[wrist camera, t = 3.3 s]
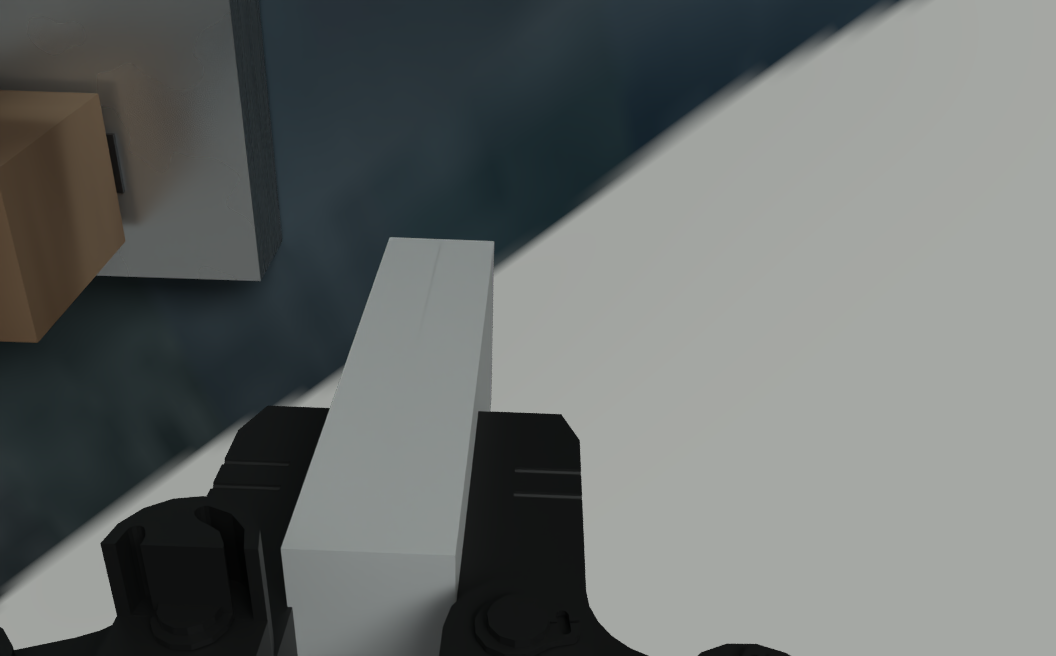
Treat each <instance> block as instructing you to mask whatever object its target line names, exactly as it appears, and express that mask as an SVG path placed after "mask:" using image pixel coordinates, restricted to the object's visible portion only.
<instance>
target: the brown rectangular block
mask: <svg viewBox="0 0 1056 656" xmlns="http://www.w3.org/2000/svg"><path fill="white" fill-rule="evenodd" d="M124 243H125V235H124V230H123V224H122V219H121V213H120V208H119V203H118V197H117V192H116V186H115V181H114V175H113V170H112V164H111V159H110V154H109V148H108V143H107V137H106V132H105V126H104V121H103V116H102V110H101V105H100V99H99V94H98V93H72V92H43V91H14V90H0V341H3V342H33V343H38V342H39V341H40V340H41V338H42V337H43V336H44V335H45V334H46V333H47V332H48V330H49V329H50V328H51V327H52V326H53V325H54V323H55V322H56V321H57V320H58V319H59V318H60V316H61V315H62V314H63V313H64V312H65V311H66V310H67V308H68V307H69V306H70V305H71V304H72V303H73V301H74V300H75V299H76V298H77V297H78V296H79V295H80V293H81V292H82V291H83V290H84V289H85V288H86V286H87V285H88V284H89V283H90V282H91V281H92V280H93V278H94V277H95V276H96V275H97V274H98V273H99V271H100V270H101V269H102V268H103V267H104V266H105V265H106V263H107V262H108V261H109V260H110V259H111V258H112V256H113V255H114V254H115V253H116V252H117V251H118V250H119V248H120V247H121V246H122V245H123V244H124Z"/></svg>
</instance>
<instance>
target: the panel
mask: <svg viewBox="0 0 1056 656" xmlns="http://www.w3.org/2000/svg"><path fill="white" fill-rule="evenodd" d="M0 90H14V91H43V92H72V93H98V94H99V99H100V105H101V110H102V116H103V121H104V126H105V132H106V137H107V143H108V148H109V154H110V159H111V164H112V170H113V175H114V181H115V186H116V192H117V197H118V203H119V208H120V213H121V219H122V224H123V230H124V235H125V243H124V244H123V245H122V246H121V247H120V248H119V250H118V251H117V252H116V253H115V254H114V255H113V256H112V258H111V259H110V260H109V261H108V262H107V263H106V265H105V266H104V267H103V268H102V269H101V270H100V271H99V273H98V274H97V275H96V276H125V277H155V278H185V279H215V280H245V281H261V280H262V278H263V276H264V274H265V272H266V270H267V268H268V267H269V265H270V263H271V261H272V259H273V257H274V255H275V254H276V252H277V250H278V248H279V246H280V244H281V242H282V234H281V223H280V213H279V203H278V193H277V183H276V173H275V162H274V152H273V142H272V132H271V122H270V111H269V101H268V91H267V81H266V71H265V61H264V50H263V40H262V30H261V20H260V10H259V0H0Z"/></svg>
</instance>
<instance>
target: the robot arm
mask: <svg viewBox="0 0 1056 656" xmlns="http://www.w3.org/2000/svg"><path fill="white" fill-rule="evenodd" d="M493 271H494V241H472V240H446V239H420V238H395V237H390V238H389V241H388V244H387V247H386V250H385V252H384V255H383V258H382V261H381V264H380V267H379V270H378V272H377V275H376V278H375V281H374V284H373V287H372V290H371V292H370V295H369V298H368V301H367V304H366V307H365V309H364V312H363V315H362V318H361V321H360V324H359V327H358V329H357V332H356V335H355V338H354V341H353V344H352V347H351V349H350V352H349V355H348V358H347V361H346V364H345V367H344V369H343V372H342V375H341V378H340V381H339V384H338V387H337V389H336V392H335V395H334V398H333V401H332V404H331V407H330V408H310V407H285V406H267V407H266V408H264V409H263V410H262V411H261V412H260V413H258V414H257V415H256V416H255V417H254V418H252V419H251V420H250V421H249V422H248V423H246V424H245V425H244V426H243V427H242V428H240V429H239V430H238V432H237V434H236V436H235V438H234V440H233V442H232V445H231V447H230V449H229V451H228V453H227V455H226V457H225V463H224V465H222V466H221V468H220V470H219V472H218V474H217V476H216V478H215V480H214V483H213V484H214V485H213V489H210V491H209V493H208V495H207V497H204V496H201V497H189V498H178V499H171V500H168V501H165V502H162V503H158V504H156V505H152V506H149V507H146V508H143V509H141V510H140V511H138V512H137V513H135V514H133V515H132V516H130V517H128V518H127V519H125V520H123V521H122V522H120V523H118V524H117V525H116V527H115V528H114V529H113V530H112V531H111V532H110V533H109V534H108V536H107V537H106V538H105V539H104V540H103V541H102V542H101V548H102V552H103V556H104V561H105V565H106V569H107V574H108V578H109V582H110V586H111V591H112V595H113V599H114V604H115V608H116V613H117V617H116V619H115V621H114V623H113V625H111V626H109V627H107V628H105V629H103V630H100V631H97V632H94V633H90V634H87V635H83V636H80V637H77V638H72V639H67V640H62V641H57V642H52V643H47V644H42V645H38V646H33V647H28V648H23V649H19V650H13V646H12V644H11V642H10V641H9V639H8V637H7V635H6V634H5V632H4V630H3V629H2V628H1V627H0V656H648V655H645V654H643V653H640V652H638V651H635V650H633V649H631V648H629V647H627V646H626V645H624V644H623V643H621V642H620V641H618V640H617V639H615V638H614V637H612V636H611V635H610V634H609V633H608V632H607V631H606V630H605V629H604V627H603V626H602V625H601V624H600V623H599V622H598V621H597V619H596V617H595V616H594V614H593V612H592V610H591V608H590V607H589V603H588V598H587V594H586V580H585V559H584V533H583V511H582V486H581V462H580V441H579V439H578V437H577V436H576V435H575V433H574V432H573V430H572V429H571V428H570V426H569V425H568V423H567V422H566V421H565V419H564V418H563V416H562V415H561V414H539V413H538V414H537V413H513V412H490V408H491V384H492V379H491V378H492V328H493V327H492V325H493ZM698 656H790V655H788V654H787V653H784V652H781V651H778V650H774V649H771V648H768V647H764V646H761V645H758V644H725V645H722V646H719V647H716V648H713V649H710V650H707V651H704V652H701V653H700V654H699V655H698Z"/></svg>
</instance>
